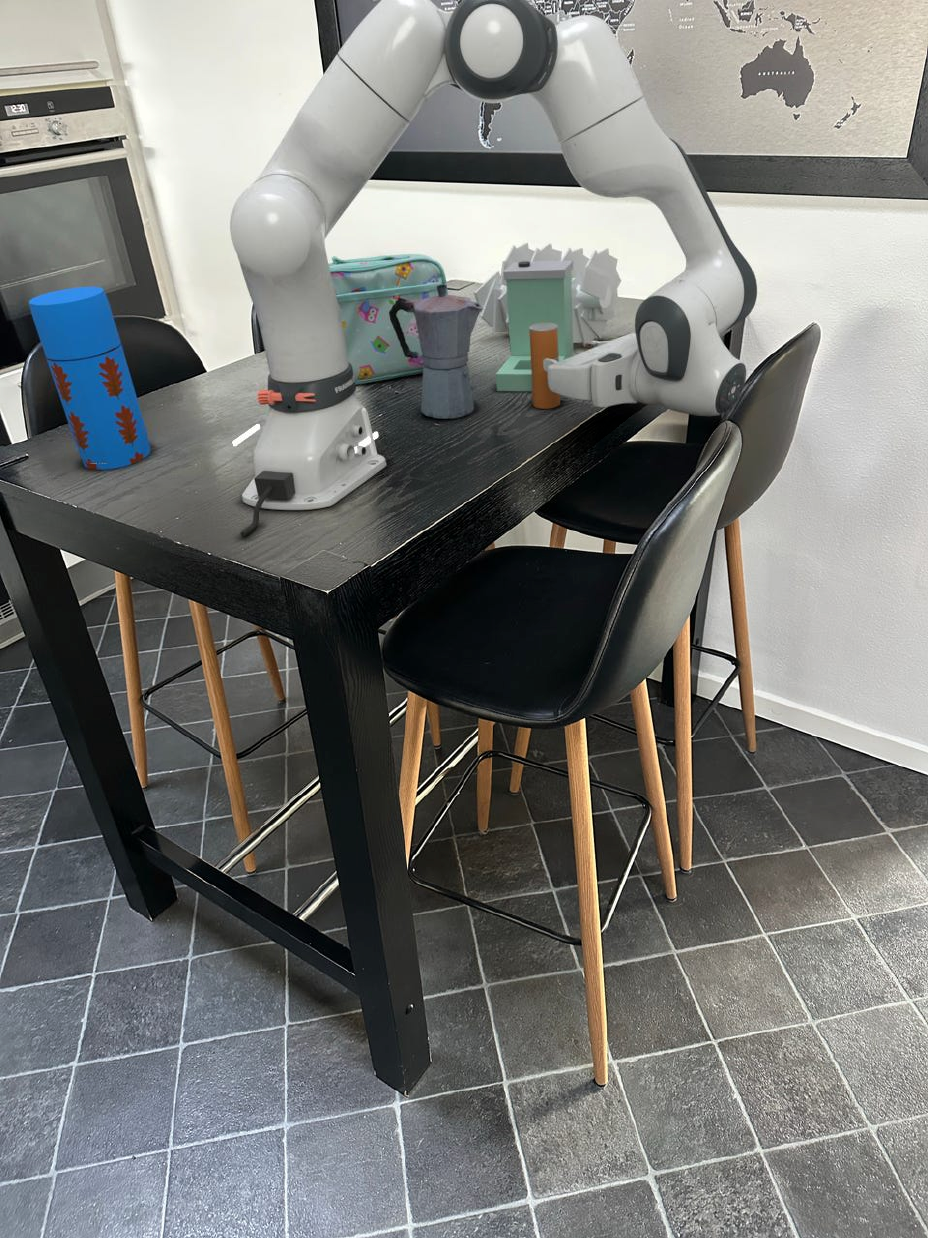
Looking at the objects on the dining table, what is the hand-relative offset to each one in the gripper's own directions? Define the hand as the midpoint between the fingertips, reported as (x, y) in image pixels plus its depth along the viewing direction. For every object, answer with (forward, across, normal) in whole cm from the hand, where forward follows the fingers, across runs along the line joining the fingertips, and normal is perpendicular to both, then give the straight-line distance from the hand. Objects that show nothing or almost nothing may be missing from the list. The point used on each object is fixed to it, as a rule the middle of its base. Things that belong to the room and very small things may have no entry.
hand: (567, 354), depth 140 cm
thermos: (+46, +56, +9) cm, 73 cm away
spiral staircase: (+30, -27, +9) cm, 41 cm away
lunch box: (+41, +6, +9) cm, 43 cm away
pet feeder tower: (+19, -14, +9) cm, 25 cm away
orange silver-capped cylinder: (+5, 0, +9) cm, 10 cm away
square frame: (+15, -7, +9) cm, 19 cm away
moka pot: (+17, +12, +9) cm, 22 cm away
